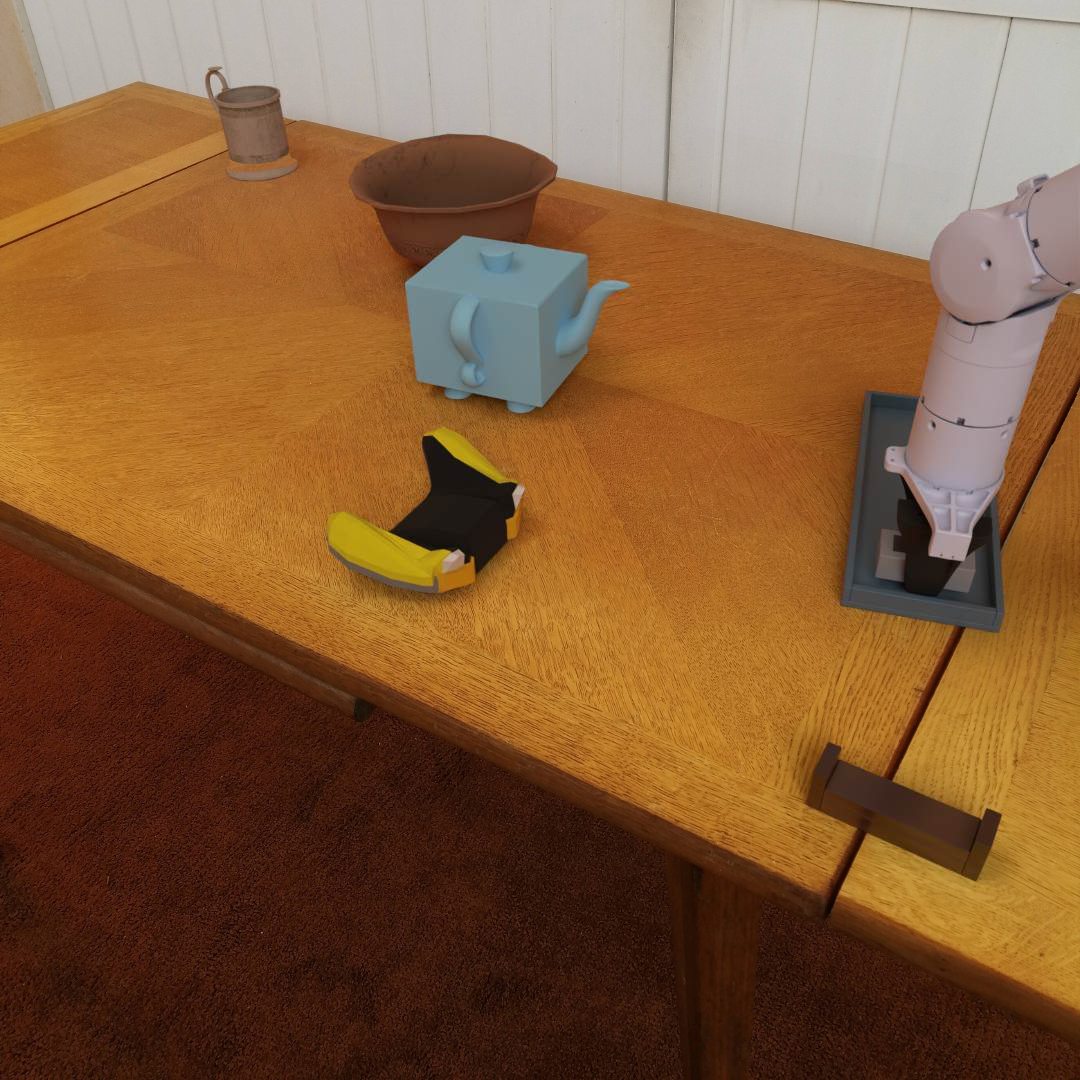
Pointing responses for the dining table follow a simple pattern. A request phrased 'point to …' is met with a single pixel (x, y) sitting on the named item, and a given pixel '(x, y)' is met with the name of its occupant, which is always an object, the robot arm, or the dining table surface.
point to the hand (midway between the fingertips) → (921, 573)
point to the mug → (251, 126)
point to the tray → (877, 510)
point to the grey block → (893, 563)
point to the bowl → (452, 191)
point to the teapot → (503, 319)
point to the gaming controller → (436, 523)
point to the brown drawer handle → (902, 815)
